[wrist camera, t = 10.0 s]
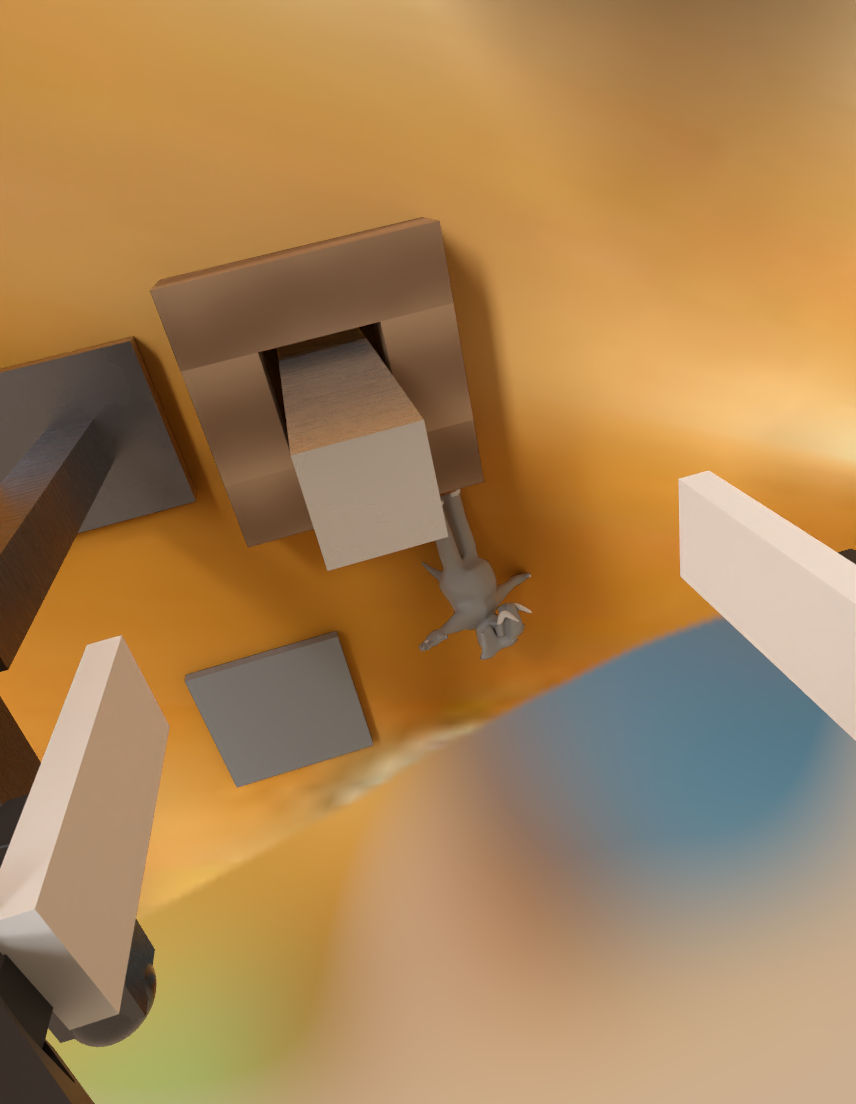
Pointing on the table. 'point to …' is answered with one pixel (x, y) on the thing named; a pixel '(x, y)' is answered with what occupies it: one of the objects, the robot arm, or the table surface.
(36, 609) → the handle post
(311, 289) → the eye block
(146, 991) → the dark grey bar
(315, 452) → the peg
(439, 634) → the elephant figurine
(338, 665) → the mat
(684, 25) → the table surface
